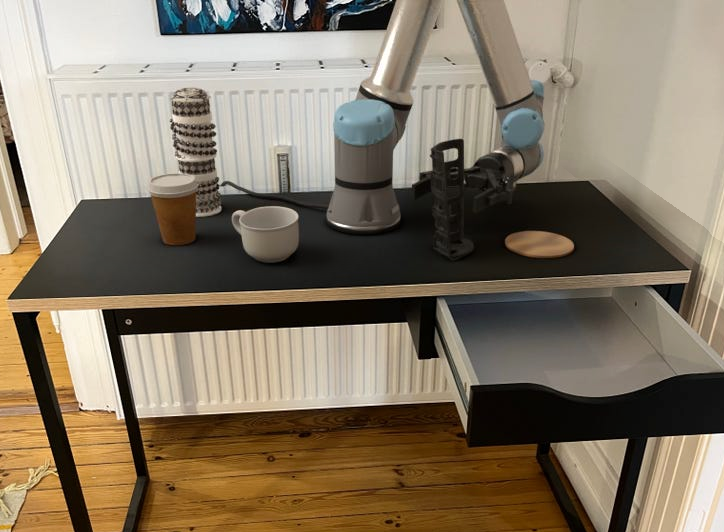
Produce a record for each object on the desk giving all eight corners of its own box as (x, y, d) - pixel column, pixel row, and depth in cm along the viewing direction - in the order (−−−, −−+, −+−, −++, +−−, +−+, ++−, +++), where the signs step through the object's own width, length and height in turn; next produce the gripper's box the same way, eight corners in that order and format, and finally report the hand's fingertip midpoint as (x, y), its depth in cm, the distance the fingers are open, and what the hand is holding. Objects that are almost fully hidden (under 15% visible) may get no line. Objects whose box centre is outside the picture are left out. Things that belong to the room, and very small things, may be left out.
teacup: (312, 256, 143) (310, 215, 139) (268, 273, 136) (265, 230, 132) (263, 237, 151) (260, 198, 147) (219, 252, 144) (215, 212, 140)
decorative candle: (171, 213, 164) (155, 91, 151) (198, 200, 171) (186, 84, 158) (204, 220, 160) (192, 96, 147) (231, 207, 167) (221, 88, 154)
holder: (471, 261, 140) (468, 151, 130) (430, 262, 141) (424, 153, 132) (475, 240, 149) (472, 136, 140) (436, 241, 151) (431, 138, 141)
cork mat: (493, 248, 146) (493, 245, 146) (522, 228, 155) (522, 226, 155) (557, 263, 139) (558, 261, 139) (584, 242, 148) (584, 239, 148)
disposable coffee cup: (213, 235, 152) (207, 175, 146) (184, 251, 145) (177, 189, 139) (174, 228, 156) (166, 170, 150) (144, 244, 148) (135, 183, 142)
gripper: (551, 199, 148) (502, 232, 133) (442, 178, 160) (386, 206, 145) (557, 161, 145) (507, 190, 129) (444, 142, 157) (387, 167, 142)
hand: (443, 198), depth 137 cm, fingers open, 12 cm apart
